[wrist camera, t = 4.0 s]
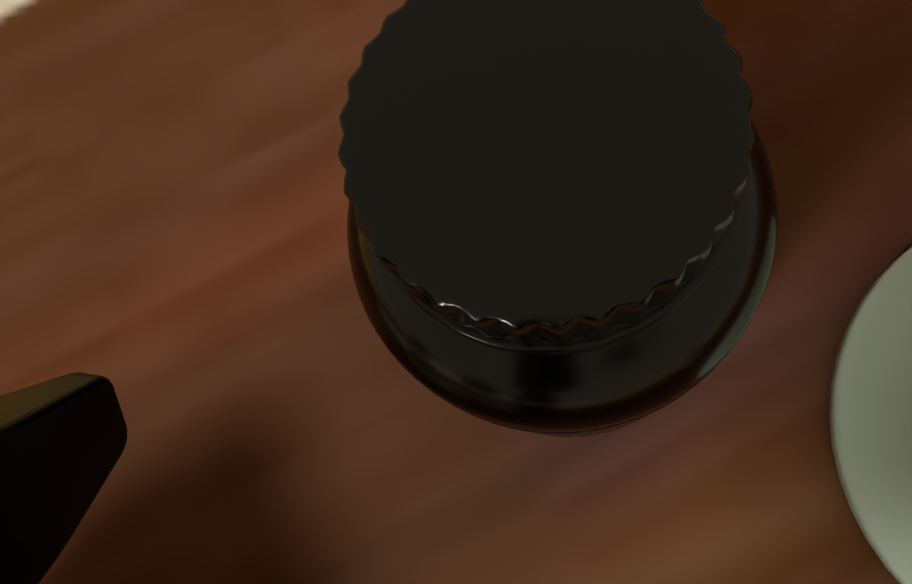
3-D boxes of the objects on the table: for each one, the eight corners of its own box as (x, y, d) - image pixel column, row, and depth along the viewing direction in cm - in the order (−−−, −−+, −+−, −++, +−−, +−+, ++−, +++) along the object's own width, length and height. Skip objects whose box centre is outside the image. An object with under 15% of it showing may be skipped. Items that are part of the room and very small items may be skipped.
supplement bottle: (434, 191, 22) (261, -112, 10) (691, 171, 21) (824, -194, 9) (440, 446, 20) (246, 431, 9) (716, 437, 19) (912, 408, 8)
